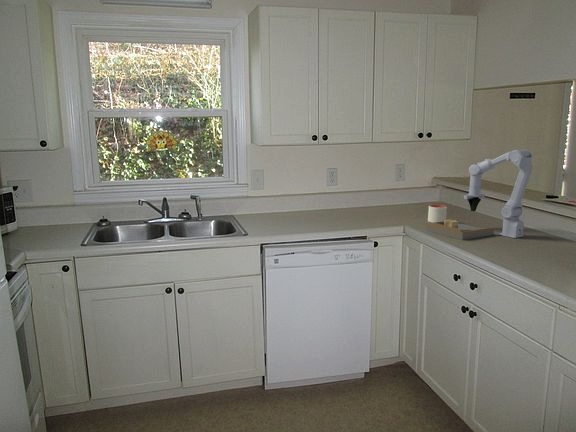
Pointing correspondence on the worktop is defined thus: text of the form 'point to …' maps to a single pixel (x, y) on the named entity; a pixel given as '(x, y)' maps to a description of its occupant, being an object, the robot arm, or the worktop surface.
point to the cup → (437, 213)
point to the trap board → (459, 230)
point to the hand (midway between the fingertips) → (473, 211)
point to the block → (451, 223)
